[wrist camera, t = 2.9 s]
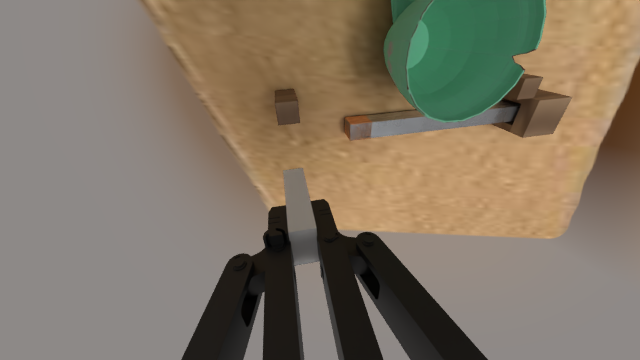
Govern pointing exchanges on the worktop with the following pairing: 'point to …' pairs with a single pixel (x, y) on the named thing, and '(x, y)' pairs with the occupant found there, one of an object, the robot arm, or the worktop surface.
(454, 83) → the mug
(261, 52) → the worktop surface
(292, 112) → the brown blocks
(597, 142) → the worktop surface
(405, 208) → the worktop surface
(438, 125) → the tie bar
